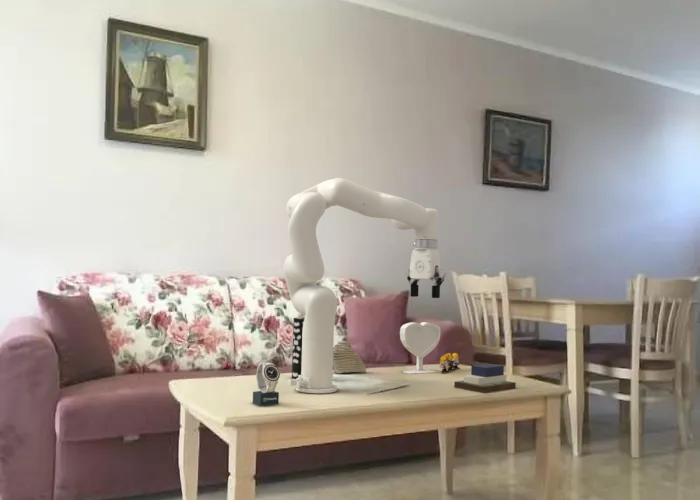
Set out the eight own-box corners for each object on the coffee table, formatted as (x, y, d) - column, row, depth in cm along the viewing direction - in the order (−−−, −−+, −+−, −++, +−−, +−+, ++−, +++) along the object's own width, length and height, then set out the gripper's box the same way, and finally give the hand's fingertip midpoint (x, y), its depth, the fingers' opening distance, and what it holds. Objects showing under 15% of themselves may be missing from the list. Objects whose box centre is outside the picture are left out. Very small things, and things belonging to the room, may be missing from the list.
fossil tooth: (367, 376, 241) (328, 374, 235) (360, 373, 247) (322, 370, 241) (371, 344, 241) (332, 341, 235) (364, 342, 247) (326, 338, 241)
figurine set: (436, 372, 246) (436, 354, 246) (452, 367, 260) (452, 350, 261) (445, 373, 245) (445, 355, 245) (461, 368, 259) (461, 351, 259)
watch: (263, 407, 177) (265, 365, 178) (249, 402, 184) (250, 361, 184) (282, 405, 181) (283, 364, 181) (267, 400, 187) (269, 360, 188)
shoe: (491, 378, 224) (491, 363, 224) (506, 380, 219) (506, 365, 219) (463, 382, 215) (464, 366, 215) (478, 384, 210) (479, 368, 210)
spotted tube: (315, 380, 222) (317, 319, 223) (290, 379, 222) (292, 319, 223) (317, 376, 231) (319, 317, 231) (293, 375, 231) (294, 317, 231)
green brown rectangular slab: (484, 393, 207) (484, 386, 207) (454, 387, 217) (454, 380, 217) (515, 388, 218) (515, 381, 218) (486, 382, 227) (486, 376, 227)
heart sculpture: (404, 373, 242) (406, 323, 243) (397, 371, 246) (398, 322, 247) (441, 371, 249) (442, 322, 250) (433, 369, 253) (434, 321, 254)
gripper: (399, 245, 229) (398, 296, 228) (437, 244, 215) (436, 298, 215) (415, 246, 233) (414, 296, 233) (453, 245, 220) (452, 298, 220)
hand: (424, 297), depth 224 cm, fingers open, 9 cm apart
